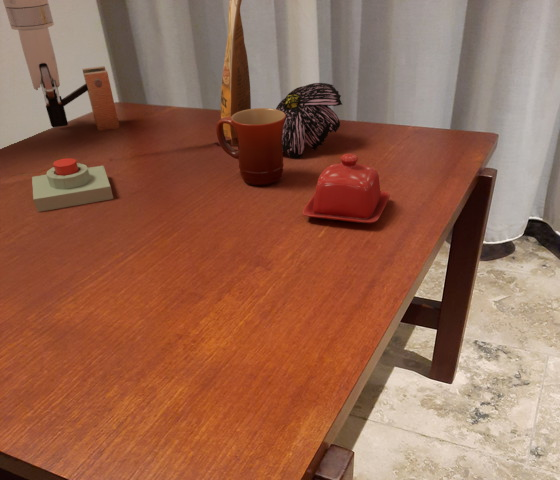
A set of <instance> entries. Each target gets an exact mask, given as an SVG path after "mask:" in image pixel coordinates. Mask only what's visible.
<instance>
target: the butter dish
mask: <svg viewBox="0 0 560 480" xmlns="http://www.w3.org/2000/svg"><path fill="white" fill-rule="evenodd" d="M340 161H341V162H339V163H338V162H337V163H332V164H330V165H328V166H327V167H326V168H324V169H323V170H322V172H321V173H320V175H319V177H318V178H317V182H316V187H315V192H314V194H313V195H312V196H311V198H310V199H309V201H308V202H307V203H306V204H305V206H304V208H303V209H302V215H303V216H304V217H308V218H318V219H323V220H324V219H325V220H332V221H340V222H341V221H342V222H350V223H359V224H373V223H376V222H377V221H378V220H379V219H380V217H381V215H382V213H383V211H384V210H385V208H386V206H387V203H388V202H389V200H390V196H391V195H390V192H389V191H385V190H381V184H380V176H379V172H378V170H376V169H375V168H374V167H371V166H369V165H367V164H361V163H357V162H358V161H359V157H358V156H357V155H356V154H354V153H344V154H343V155H341V157H340Z"/></svg>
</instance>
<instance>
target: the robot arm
mask: <svg viewBox="0 0 560 480" xmlns="http://www.w3.org/2000/svg"><path fill="white" fill-rule="evenodd" d="M2 2H3V6H4V9H5V12H6V15H7V19H8V22H9V25H10V28H11V29H12V30H16V31H17V32H18V36H19V41H20V45H21V48H22V52H23V56H24V58H25V62H26V65H27V69H28V72H29V76H30V80H31V84H32V86H33V89H34V90H36V91H38V90H39V88H41V91H42V94H43V98H44V102H45V109H46V112H47V115H48V116H47V117H48V119H49V123H50V126H51V127H52V128H59V127H61V128H62V127H67V126H69V122H68V119H67V114H66V110H65V106H64V107H63V103H62V104H61V101H60V100H62V99H63V98H62V95H60V92H59V87H60V86H61V85H60V77H59V75H60V74H59V69H58V64H57V59H56V55H55V50H54V46H53V43H52V38H51V34H50V31H49V30H50V29H49V28H50V27H53V26H54V25H55V23H54V19H53V15H52V11H51V8H50V7H51V6H50V3H49V0H2Z"/></svg>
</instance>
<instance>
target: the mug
mask: <svg viewBox="0 0 560 480" xmlns="http://www.w3.org/2000/svg"><path fill="white" fill-rule="evenodd" d="M285 119H286V114H285V113H284V112H282V111H280V110H277V109H276V108H269V107H256V108H251V109H247V110H243V111H239V112H237V113H235V114H233V115H232V116H231V117H224V118H222V119H221V118H220V119H219V120H218V121H217V122H216V126H215V127H216V130H215V131H216V136H217V140H218V143H219V145H220V147H221V149H222V150H223V151H224V152H225V153H226V154H227V155H228V156H230V157H232V158H233V159H236V160H238V169H239V173H240V176H241V180H243V181H244V182H246V184H248V185H251V186H256V187H257V186H258V187H264V186H271V185H273V184H275V183H277V182H278V181H280V180H281V179H282V177H283V172H284V152H283V148H282V132H283V127H284V122H285ZM224 123H226V124H229V125H231V126H232V127H233V128H234V129H235V132H236V135H237V137H236V139H237V140H238V145H237V148H233V146H230V144H229V143H227V141H226V140H227V139H226V136H225V135H224V130H223V124H224Z"/></svg>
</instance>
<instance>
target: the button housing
mask: <svg viewBox="0 0 560 480" xmlns="http://www.w3.org/2000/svg"><path fill="white" fill-rule="evenodd" d="M77 166H78V169H79V171H78V172H77V173H74V174H72V175H66V176H61V175H56V172H55V168H54V166H53V167H50V169H48V170H47V171H46V174H41V175H34V176H31V184H32V199H33V203H34V205H35V209H36V211H37V213H42V212H47V211H51V210H52V211H53V210H58V209H63V208H69V207H75V206H81V205H86V204H91V203H98V202H103V201H110V200H114V194H113V191H112V186H111V184H110V180H109V178H108V177H109V176H108V174H107V171H106V168H105V165H97V166H92V167H91V166H90V167H88V165H86V164H84V163H80V162H78V163H77Z"/></svg>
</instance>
